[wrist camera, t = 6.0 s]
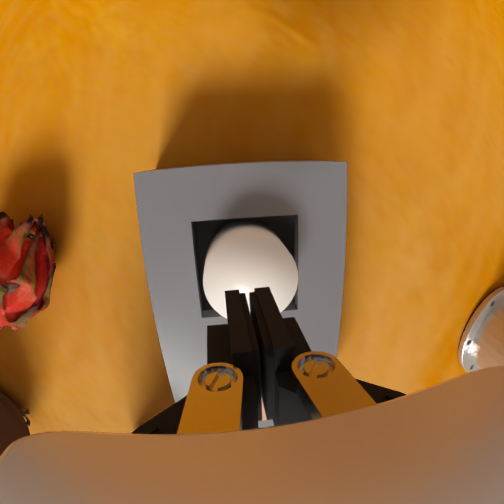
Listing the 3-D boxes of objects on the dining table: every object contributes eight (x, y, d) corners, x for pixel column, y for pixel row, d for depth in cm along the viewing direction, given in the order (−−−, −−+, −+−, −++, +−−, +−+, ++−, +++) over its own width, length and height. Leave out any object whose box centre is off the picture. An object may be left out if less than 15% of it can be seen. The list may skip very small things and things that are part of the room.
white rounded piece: (282, 217, 19) (298, 232, 15) (283, 290, 21) (297, 318, 17) (202, 222, 19) (198, 239, 15) (209, 296, 20) (208, 326, 17)
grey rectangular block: (315, 160, 22) (346, 161, 17) (308, 389, 29) (325, 430, 23) (155, 169, 21) (133, 173, 16) (191, 400, 28) (188, 445, 22)
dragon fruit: (8, 291, 24) (69, 207, 24) (33, 360, 21) (105, 274, 22) (-55, 273, 16) (3, 167, 16) (-41, 355, 13) (20, 243, 14)
